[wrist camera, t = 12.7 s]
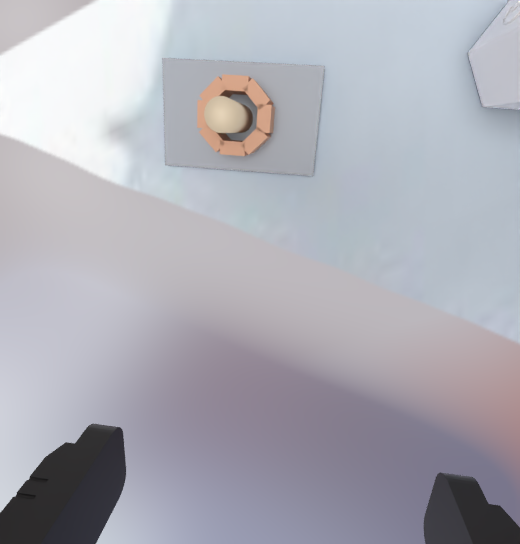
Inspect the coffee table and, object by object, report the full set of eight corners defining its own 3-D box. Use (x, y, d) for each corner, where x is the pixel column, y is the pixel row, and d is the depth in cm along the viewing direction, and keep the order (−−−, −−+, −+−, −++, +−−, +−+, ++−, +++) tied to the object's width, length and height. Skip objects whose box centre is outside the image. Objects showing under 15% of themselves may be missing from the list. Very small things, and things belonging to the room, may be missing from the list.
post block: (324, 68, 33) (330, 45, 24) (312, 174, 36) (314, 187, 28) (167, 60, 34) (120, 36, 26) (169, 164, 37) (128, 173, 29)
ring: (277, 82, 33) (273, 77, 30) (271, 155, 35) (267, 158, 32) (208, 78, 33) (197, 72, 30) (207, 150, 35) (196, 152, 32)
